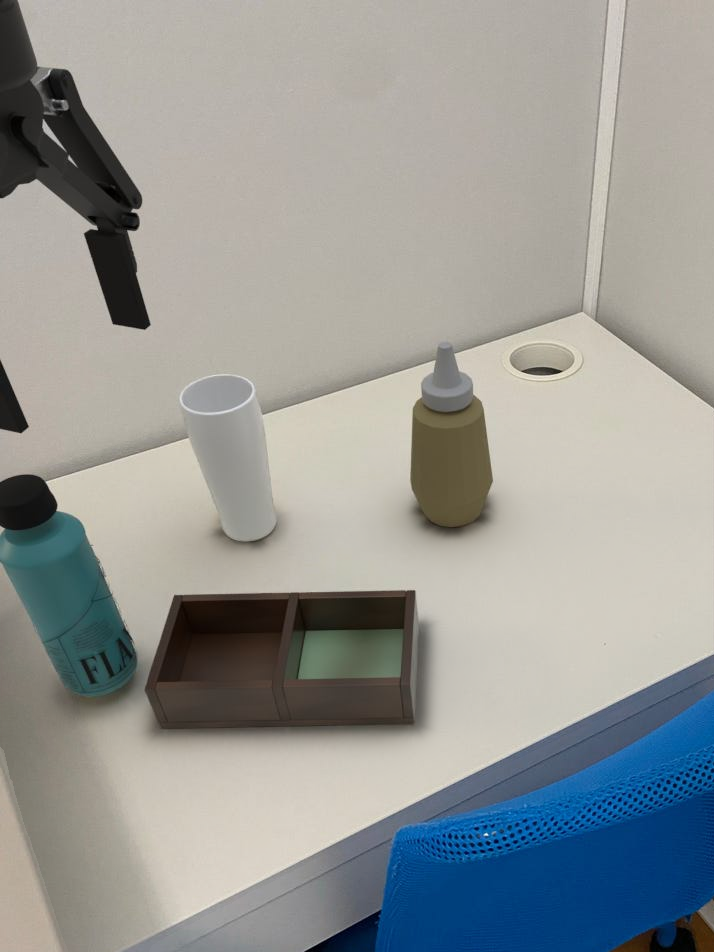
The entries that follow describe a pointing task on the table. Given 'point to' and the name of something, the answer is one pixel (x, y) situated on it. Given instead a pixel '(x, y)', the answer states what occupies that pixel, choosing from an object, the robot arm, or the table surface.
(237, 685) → the divided box
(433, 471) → the squeeze bottle
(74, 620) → the beverage bottle
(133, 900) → the table surface
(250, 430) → the drinking glass
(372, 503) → the table surface
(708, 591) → the table surface
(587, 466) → the table surface
